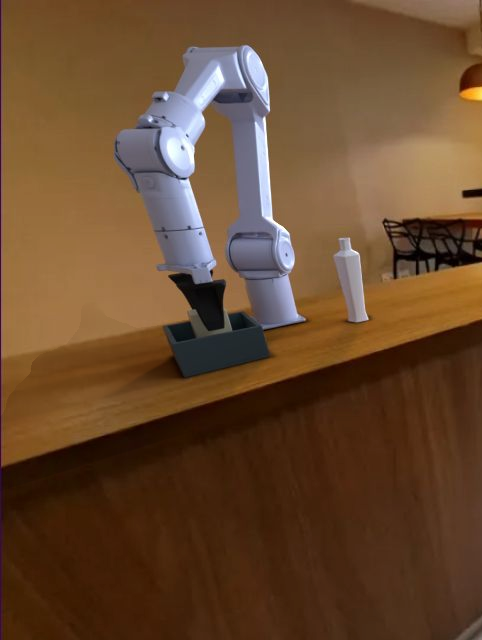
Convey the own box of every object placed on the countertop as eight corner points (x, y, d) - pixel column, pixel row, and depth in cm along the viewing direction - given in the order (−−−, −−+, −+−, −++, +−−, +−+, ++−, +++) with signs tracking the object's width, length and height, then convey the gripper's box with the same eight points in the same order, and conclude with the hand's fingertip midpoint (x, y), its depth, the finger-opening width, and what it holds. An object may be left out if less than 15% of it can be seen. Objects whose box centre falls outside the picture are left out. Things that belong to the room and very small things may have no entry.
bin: (173, 356, 69) (162, 325, 67) (251, 339, 76) (243, 311, 73) (184, 377, 61) (172, 344, 59) (270, 356, 68) (261, 325, 66)
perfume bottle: (364, 323, 82) (349, 240, 76) (342, 322, 83) (327, 240, 77) (375, 316, 86) (363, 237, 80) (355, 315, 87) (341, 236, 81)
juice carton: (201, 354, 68) (182, 300, 64) (234, 347, 71) (217, 294, 67) (205, 360, 66) (186, 304, 62) (239, 352, 68) (222, 298, 65)
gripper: (138, 227, 63) (172, 318, 69) (148, 236, 53) (187, 342, 59) (196, 223, 67) (223, 309, 73) (215, 230, 57) (245, 329, 63)
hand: (211, 323), depth 66 cm, fingers open, 7 cm apart
